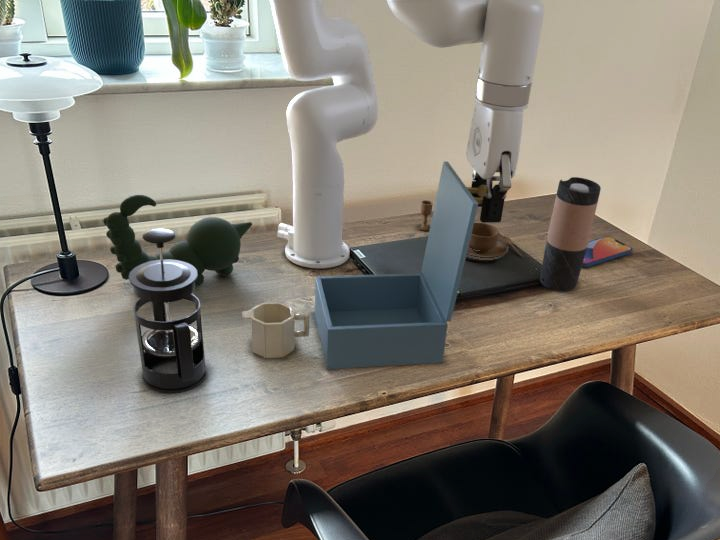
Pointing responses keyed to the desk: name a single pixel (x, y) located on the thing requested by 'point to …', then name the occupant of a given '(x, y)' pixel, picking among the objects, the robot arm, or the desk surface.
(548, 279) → the travel mug
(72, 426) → the desk surface
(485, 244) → the place setting
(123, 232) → the toy figurine
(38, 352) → the desk surface
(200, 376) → the french press
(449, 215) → the lid
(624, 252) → the smartphone
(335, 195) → the robot arm
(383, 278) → the chest
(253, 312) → the jug
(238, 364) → the desk surface
